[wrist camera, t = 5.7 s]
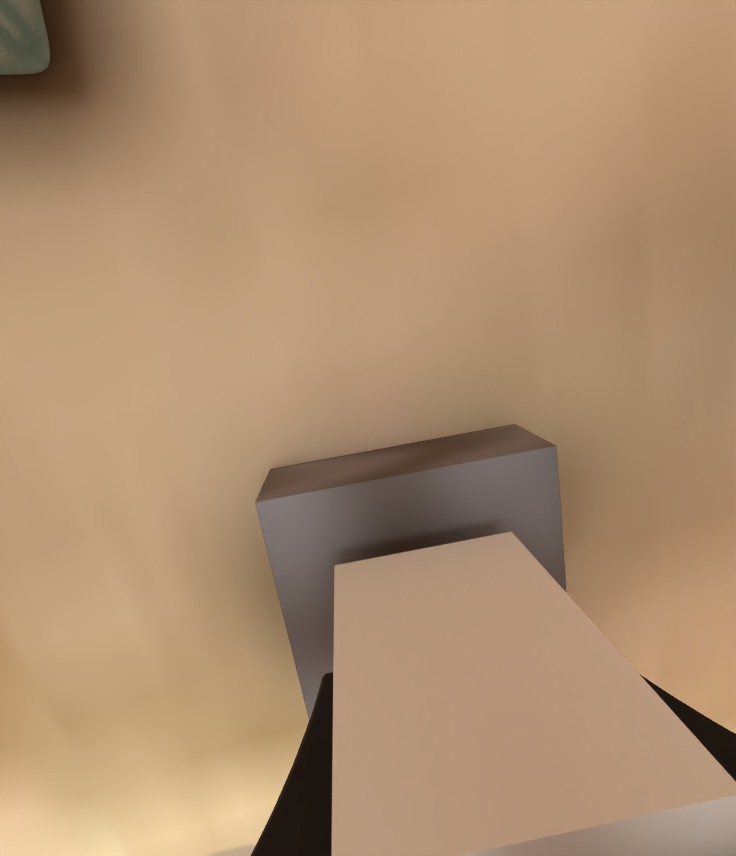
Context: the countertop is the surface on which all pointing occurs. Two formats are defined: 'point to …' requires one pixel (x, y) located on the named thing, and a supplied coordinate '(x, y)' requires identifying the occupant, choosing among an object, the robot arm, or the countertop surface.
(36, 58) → the flower pot
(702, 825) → the cream block
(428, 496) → the charcoal plinth
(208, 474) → the countertop surface
